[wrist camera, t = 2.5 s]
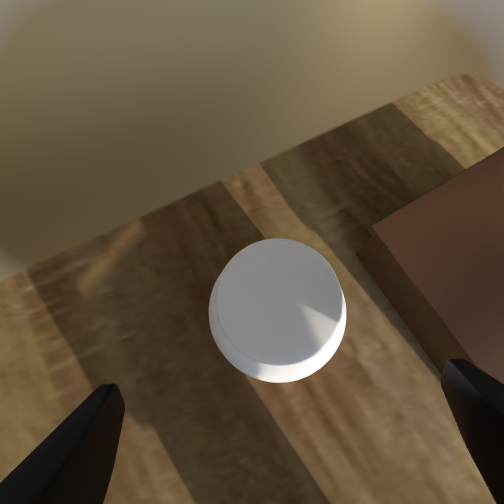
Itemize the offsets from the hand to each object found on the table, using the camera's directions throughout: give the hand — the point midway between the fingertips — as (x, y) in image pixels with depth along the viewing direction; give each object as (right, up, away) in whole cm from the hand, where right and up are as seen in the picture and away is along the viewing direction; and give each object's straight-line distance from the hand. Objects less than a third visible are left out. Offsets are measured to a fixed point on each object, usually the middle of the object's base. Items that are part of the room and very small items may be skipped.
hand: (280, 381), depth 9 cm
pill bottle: (+1, -1, +11) cm, 11 cm away
